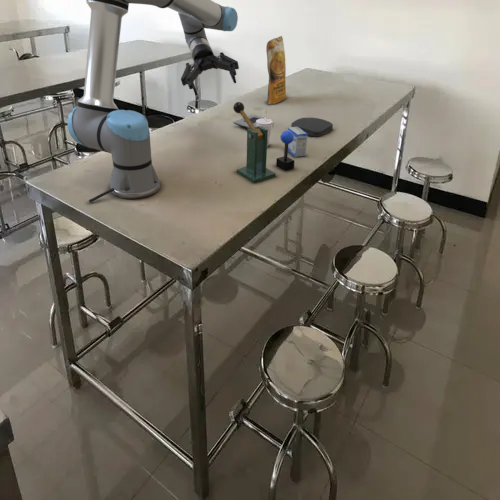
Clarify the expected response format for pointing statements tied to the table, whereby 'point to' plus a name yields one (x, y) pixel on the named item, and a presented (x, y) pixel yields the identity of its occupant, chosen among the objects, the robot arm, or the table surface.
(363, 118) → the table surface
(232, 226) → the table surface
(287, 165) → the blue knob joystick
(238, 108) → the switch lever
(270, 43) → the pancake mix bag
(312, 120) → the media streaming box
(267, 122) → the smoothie
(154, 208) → the table surface
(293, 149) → the medicine box
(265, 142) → the switch bracket
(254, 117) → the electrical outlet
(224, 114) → the table surface
